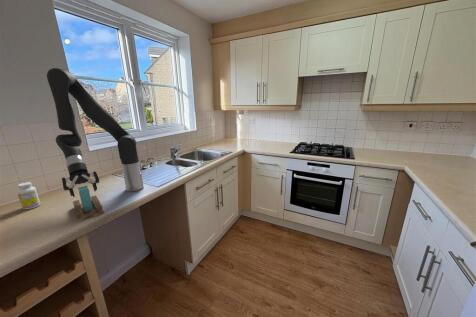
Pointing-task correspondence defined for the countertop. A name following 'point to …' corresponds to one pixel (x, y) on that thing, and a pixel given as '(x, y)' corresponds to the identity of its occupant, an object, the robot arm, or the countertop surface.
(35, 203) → the supplement bottle
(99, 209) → the wooden cradle
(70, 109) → the robot arm
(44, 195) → the countertop surface
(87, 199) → the teal rectangular block
